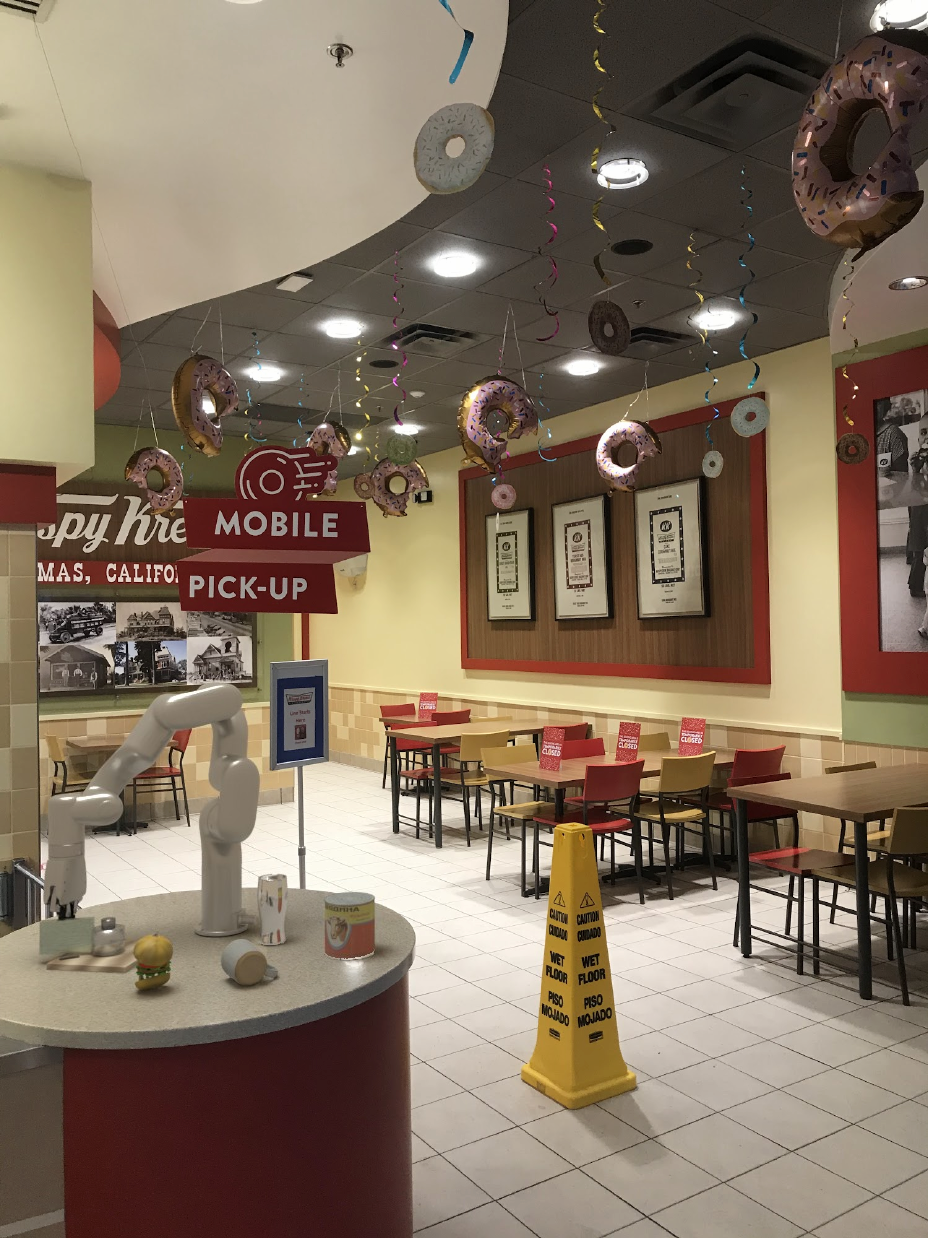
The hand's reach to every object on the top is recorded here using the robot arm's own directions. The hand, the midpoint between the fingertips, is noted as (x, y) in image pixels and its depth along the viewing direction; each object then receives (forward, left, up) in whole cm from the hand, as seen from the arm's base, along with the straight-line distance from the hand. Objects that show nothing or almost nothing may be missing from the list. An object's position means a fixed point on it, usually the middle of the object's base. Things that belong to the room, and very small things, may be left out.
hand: (66, 933), depth 211 cm
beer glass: (-42, -16, -5) cm, 45 cm away
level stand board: (-10, 0, -5) cm, 11 cm away
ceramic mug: (-47, +9, -5) cm, 48 cm away
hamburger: (-30, +18, -5) cm, 35 cm away
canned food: (-62, -11, -5) cm, 63 cm away
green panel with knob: (-5, +2, -4) cm, 6 cm away
